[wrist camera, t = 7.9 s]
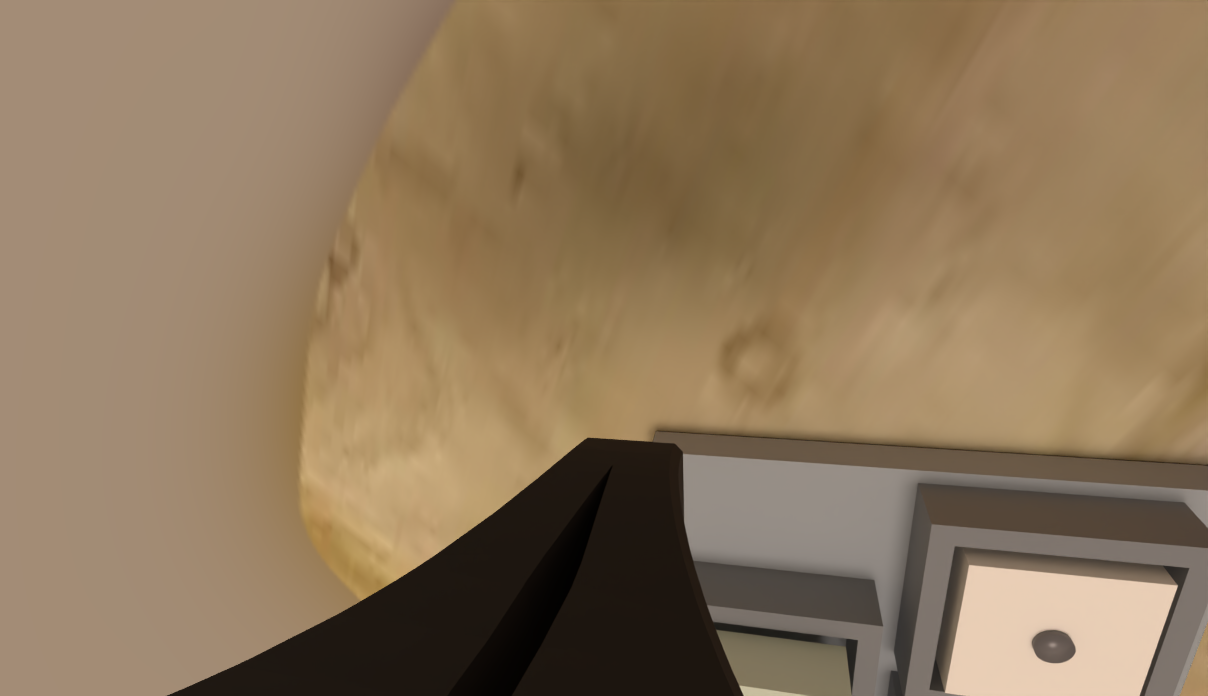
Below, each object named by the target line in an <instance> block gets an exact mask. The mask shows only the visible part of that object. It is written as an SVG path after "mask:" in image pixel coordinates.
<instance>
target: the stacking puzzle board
mask: <svg viewBox="0 0 1208 696" xmlns="http://www.w3.org/2000/svg"><path fill="white" fill-rule="evenodd" d="M653 442H660V443H675V444H676V445H677V446H678V447H679V448H680V449H681V450H682V451H683V480H684V524H685V528H686V533H687V538H688V542H689V547H690V551H691V554H692V558H693V562H694V565H695V569H696V572H697V575H698V579H699V582H700V585H701V588H702V591H703V595H704V598H705V601H706V604H707V606H708V609H709V612H710V615H711V618H712V620H713V623H714V626H715V629H716V630H721V631H729V632H736V633H744V634H752V635H760V636H767V637H775V638H783V639H791V640H798V641H806V642H814V643H821V644H829V645H837V646H845V647H846V652H847V661H848V669H849V677H850V685H851V694H852V696H963V695H956V694H949V693H945V691H944V688H943V684H942V680H941V676H940V673H939V669H938V665H937V661H936V658H935V655H936V649H937V644H938V638H939V633H940V627H941V621H942V616H943V610H944V604H945V599H946V593H947V587H948V582H949V576H950V570H951V565H952V559H953V553H954V548H955V546H958V547H969V548H980V549H991V550H1001V551H1012V552H1023V553H1034V554H1044V555H1055V556H1066V557H1077V558H1087V559H1098V560H1109V561H1120V562H1130V563H1141V564H1152V565H1163V567H1164V568H1165V569H1166V571H1167V572H1168V573H1169V575H1170V576H1171V577H1172V579H1173V580H1174V581H1175V582H1176V584H1177V585H1178V587H1177V590H1176V593H1175V595H1174V598H1173V601H1172V604H1171V607H1170V610H1169V613H1168V616H1167V618H1166V621H1165V624H1164V627H1163V630H1162V633H1161V636H1160V638H1159V641H1158V644H1157V647H1156V650H1155V653H1154V656H1153V659H1152V661H1151V664H1150V667H1149V670H1148V673H1147V676H1146V679H1145V681H1144V684H1143V687H1142V690H1141V693H1140V696H1180V693H1181V691H1182V688H1183V685H1184V683H1185V680H1186V677H1187V675H1188V672H1189V670H1190V667H1191V664H1192V662H1193V659H1194V657H1195V654H1196V651H1197V649H1198V646H1199V643H1200V641H1201V638H1202V636H1203V633H1204V630H1205V628H1206V625H1207V622H1208V466H1204V465H1188V464H1172V463H1156V462H1140V461H1124V460H1108V459H1092V458H1076V457H1060V456H1044V455H1028V454H1012V453H996V452H980V451H964V450H948V449H932V448H916V447H900V446H884V445H868V444H852V443H836V442H820V441H804V440H788V439H772V438H756V437H740V436H724V435H708V434H691V433H675V432H659V431H656V433H655V436H654V439H653Z"/></svg>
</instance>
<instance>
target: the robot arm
mask: <svg viewBox="0 0 1208 696" xmlns="http://www.w3.org/2000/svg"><path fill="white" fill-rule="evenodd" d="M167 696H744V695H743V693H742V691H741V688H740V686H739V684H738V682H737V679H736V677H735V675H734V673H733V671H732V668H731V666H730V664H729V661H728V659H727V656H726V654H725V651H724V649H723V646H722V644H721V641H720V639H719V636H718V634H717V631H716V629H715V626H714V623H713V620H712V618H711V615H710V612H709V609H708V606H707V604H706V601H705V598H704V595H703V591H702V588H701V585H700V582H699V579H698V575H697V572H696V569H695V565H694V562H693V558H692V554H691V551H690V547H689V542H688V538H687V533H686V528H685V524H684V480H683V451H682V450H681V449H680V448H679V447H678V446H677V445H676V444H675V443H660V442H645V441H630V440H615V439H600V438H587V439H585V440H584V441H583V442H581V443H580V444H579V445H577V446H576V447H575V448H574V449H572V450H571V451H570V452H569V453H568V454H566V455H565V456H564V457H563V458H562V459H560V460H559V461H558V462H557V463H556V464H554V465H553V466H552V467H551V468H550V469H548V470H547V471H546V472H545V473H544V474H542V475H541V476H540V477H539V478H538V479H536V480H535V481H534V482H533V483H531V484H530V485H529V486H528V487H526V488H525V489H524V490H523V491H521V492H520V493H519V494H517V495H516V496H515V497H514V498H512V499H511V500H510V501H509V502H507V503H506V504H505V505H504V506H502V507H501V508H500V509H499V510H497V511H496V512H495V513H493V514H492V515H491V516H489V517H488V518H486V519H485V520H484V521H482V522H481V523H480V524H478V525H477V526H475V527H474V528H473V529H471V530H470V531H468V532H467V533H466V534H464V535H463V536H461V537H460V538H459V539H457V540H456V541H454V542H453V543H452V544H450V545H449V546H447V547H446V548H445V549H443V550H442V551H440V552H439V553H438V554H436V555H435V556H433V557H432V558H430V559H429V560H427V561H426V562H424V563H423V564H421V565H420V566H418V567H417V568H415V569H414V570H412V571H410V572H409V573H407V574H406V575H404V576H402V577H401V578H399V579H398V580H396V581H394V582H393V583H391V584H389V585H388V586H386V587H384V588H383V589H381V590H379V591H377V592H376V593H374V594H372V595H371V596H369V597H367V598H366V599H364V600H362V601H360V602H359V603H357V604H356V605H354V606H352V607H350V608H348V609H347V610H345V611H343V612H341V613H339V614H337V615H336V616H333V617H332V618H330V619H328V620H326V621H324V622H322V623H320V624H318V625H316V626H314V627H312V628H310V629H308V630H306V631H304V632H302V633H300V634H298V635H296V636H294V637H292V638H290V639H288V640H286V641H285V642H282V643H280V644H278V645H276V646H274V647H272V648H271V649H269V650H267V651H265V652H263V653H261V654H259V655H257V656H255V657H253V658H251V659H249V660H246V661H244V662H242V663H240V664H238V665H236V666H234V667H231V668H229V669H227V670H225V671H222V672H220V673H218V674H216V675H213V676H211V677H209V678H207V679H205V680H202V681H200V682H198V683H196V684H193V685H191V686H189V687H187V688H185V689H182V690H179V691H177V692H175V693H173V694H170V695H167Z"/></svg>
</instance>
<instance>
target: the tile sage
mask: <svg viewBox="0 0 1208 696" xmlns="http://www.w3.org/2000/svg"><path fill="white" fill-rule="evenodd" d="M716 631H717V634H718V636H719V639H720V641H721V644H722V646H723V649H724V651H725V654H726V656H727V659H728V661H729V664H730V666H731V668H732V671H733V673H734V675H735V677H736V679H737V682H738V684H739V686H740V688H741V691H742V693H743V695H744V696H852V694H851V685H850V677H849V669H848V661H847V652H846V647H845V646H837V645H829V644H821V643H814V642H806V641H798V640H791V639H783V638H775V637H767V636H760V635H752V634H744V633H736V632H729V631H721V630H716Z"/></svg>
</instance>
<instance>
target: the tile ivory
mask: <svg viewBox="0 0 1208 696" xmlns="http://www.w3.org/2000/svg"><path fill="white" fill-rule="evenodd" d="M1177 587H1178V585H1177V584H1176V582H1175V581H1174V580H1173V579H1172V577H1171V576H1170V575H1169V573H1168V572H1167V571H1166V569H1165V568H1164V567H1163V565H1152V564H1141V563H1130V562H1120V561H1109V560H1098V559H1087V558H1077V557H1066V556H1055V555H1044V554H1034V553H1023V552H1012V551H1001V550H991V549H980V548H969V547H958V546H955V548H954V553H953V559H952V565H951V570H950V576H949V582H948V587H947V593H946V599H945V604H944V610H943V616H942V621H941V627H940V633H939V638H938V644H937V649H936V655H935V658H936V661H937V665H938V669H939V673H940V676H941V680H942V684H943V688H944V691H945V693H949V694H956V695H963V696H1140V693H1141V690H1142V687H1143V684H1144V681H1145V679H1146V676H1147V673H1148V670H1149V667H1150V664H1151V661H1152V659H1153V656H1154V653H1155V650H1156V647H1157V644H1158V641H1159V638H1160V636H1161V633H1162V630H1163V627H1164V624H1165V621H1166V618H1167V616H1168V613H1169V610H1170V607H1171V604H1172V601H1173V598H1174V595H1175V593H1176V590H1177Z"/></svg>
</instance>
